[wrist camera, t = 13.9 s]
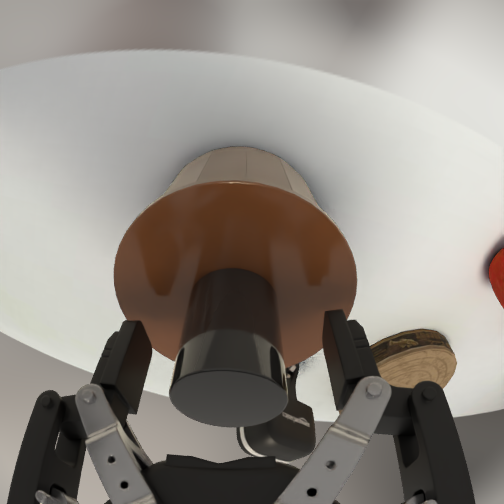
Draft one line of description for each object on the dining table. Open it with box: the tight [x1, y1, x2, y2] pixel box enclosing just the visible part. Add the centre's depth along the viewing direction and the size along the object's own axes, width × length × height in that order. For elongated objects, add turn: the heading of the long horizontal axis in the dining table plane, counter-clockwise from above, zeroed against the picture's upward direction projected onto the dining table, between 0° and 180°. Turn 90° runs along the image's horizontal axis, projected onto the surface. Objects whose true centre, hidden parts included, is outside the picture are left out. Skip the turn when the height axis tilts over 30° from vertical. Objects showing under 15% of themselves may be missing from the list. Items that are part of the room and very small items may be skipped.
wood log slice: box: [339, 329, 457, 414], centre depth 32 cm, size 16×16×3 cm
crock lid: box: [114, 177, 357, 427], centre depth 13 cm, size 12×12×7 cm
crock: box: [164, 146, 318, 206], centre depth 18 cm, size 11×11×8 cm
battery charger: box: [237, 363, 316, 463], centre depth 25 cm, size 7×4×11 cm, turn 45°
